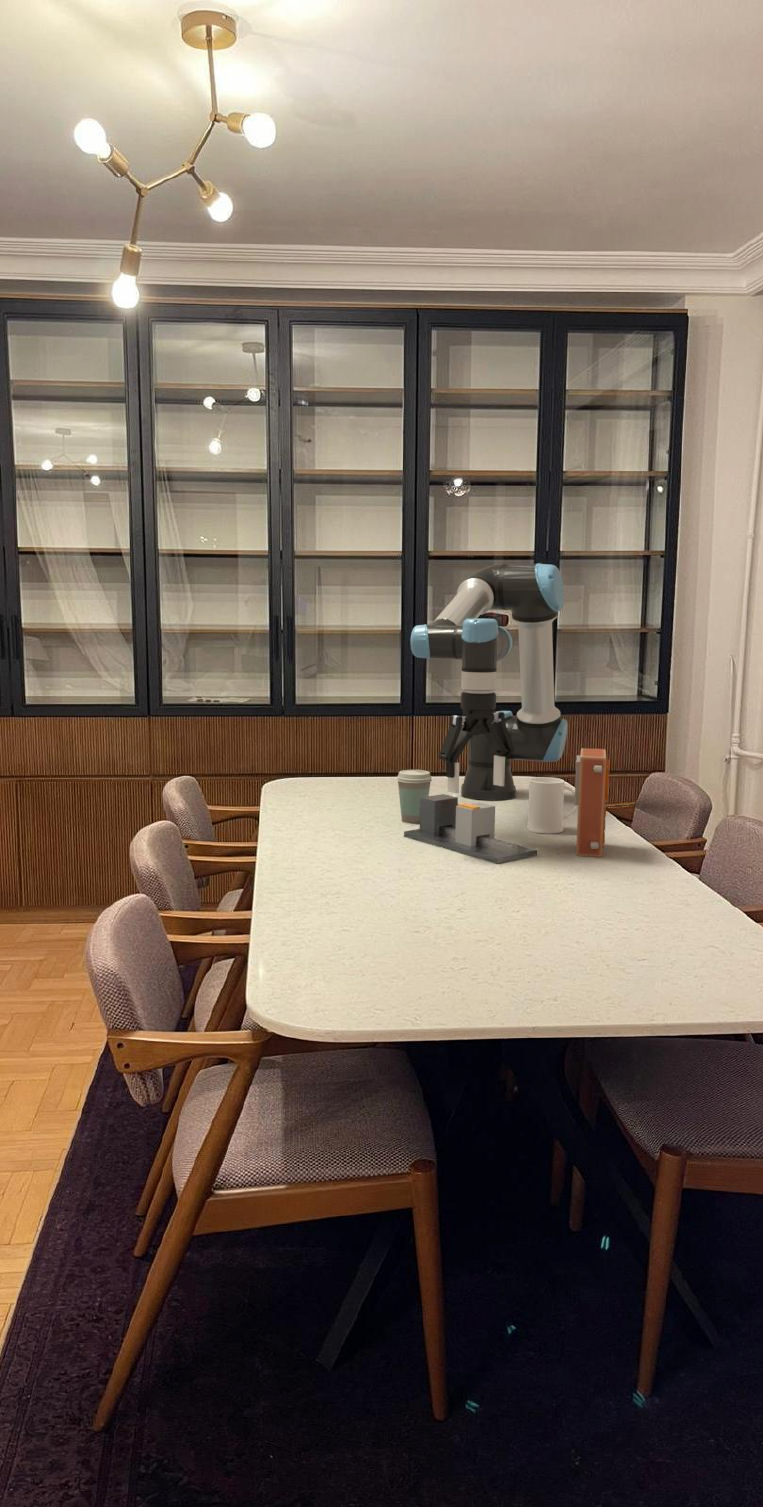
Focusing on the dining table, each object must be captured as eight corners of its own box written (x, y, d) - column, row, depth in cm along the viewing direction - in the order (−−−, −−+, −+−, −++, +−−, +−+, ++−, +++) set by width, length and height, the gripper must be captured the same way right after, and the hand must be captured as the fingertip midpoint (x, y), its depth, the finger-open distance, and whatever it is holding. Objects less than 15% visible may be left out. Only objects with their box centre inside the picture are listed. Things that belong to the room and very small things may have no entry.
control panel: (604, 842, 233) (605, 858, 219) (573, 841, 235) (571, 856, 220) (609, 748, 230) (609, 758, 215) (576, 747, 231) (575, 757, 217)
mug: (574, 826, 249) (576, 777, 248) (579, 834, 241) (581, 783, 239) (525, 825, 250) (526, 776, 248) (528, 833, 241) (530, 782, 240)
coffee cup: (431, 824, 250) (432, 775, 248) (396, 824, 250) (396, 774, 248) (430, 817, 258) (431, 769, 256) (396, 816, 258) (396, 769, 257)
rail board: (403, 836, 237) (404, 796, 235) (443, 829, 244) (444, 791, 243) (497, 863, 214) (498, 819, 212) (537, 855, 221) (538, 812, 220)
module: (455, 841, 227) (456, 804, 226) (478, 837, 231) (479, 800, 230) (471, 846, 223) (471, 808, 222) (494, 841, 227) (495, 804, 226)
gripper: (507, 686, 233) (504, 780, 236) (422, 693, 217) (421, 792, 221) (532, 689, 227) (528, 785, 230) (446, 696, 212) (445, 798, 215)
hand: (476, 788), depth 225 cm, fingers open, 13 cm apart
